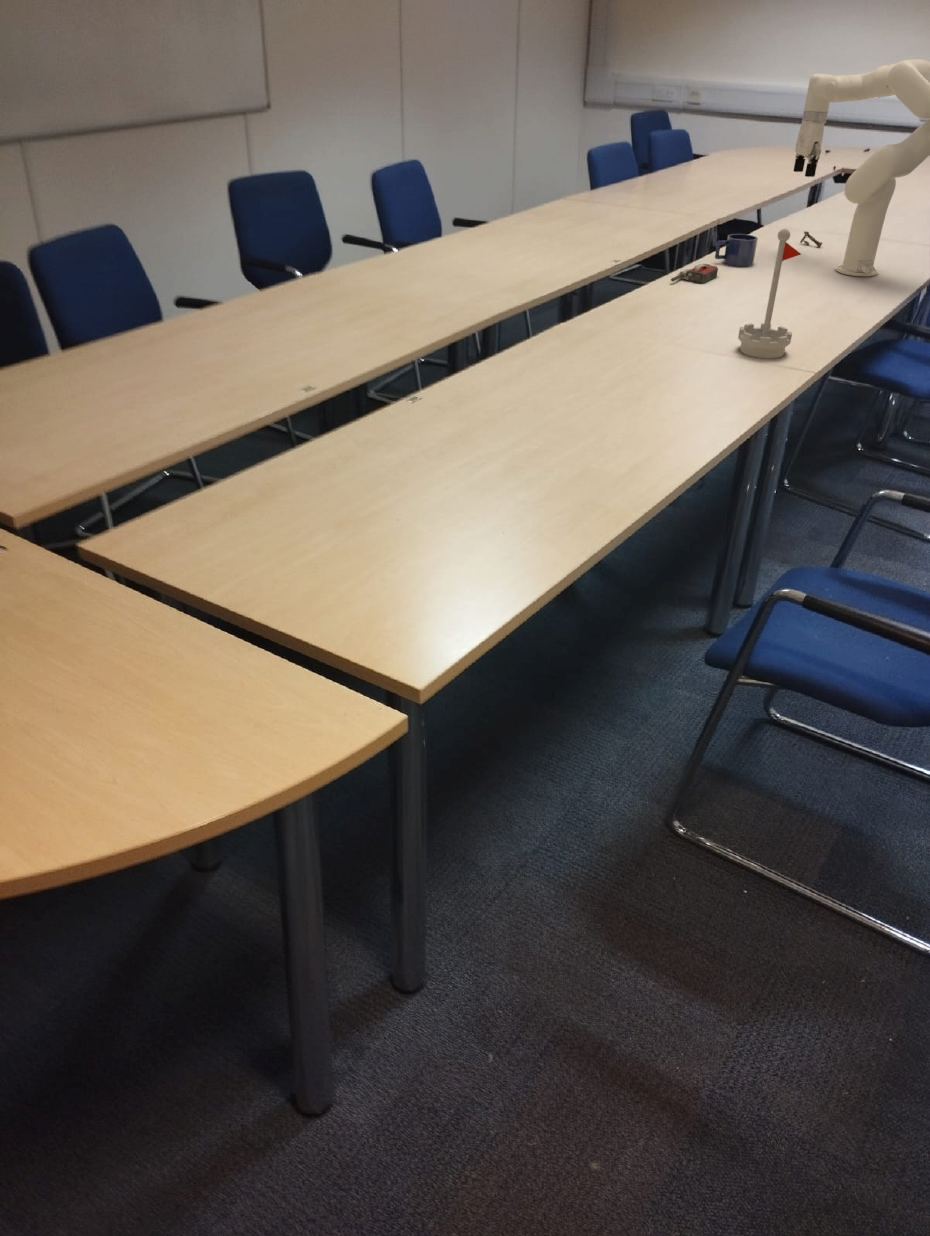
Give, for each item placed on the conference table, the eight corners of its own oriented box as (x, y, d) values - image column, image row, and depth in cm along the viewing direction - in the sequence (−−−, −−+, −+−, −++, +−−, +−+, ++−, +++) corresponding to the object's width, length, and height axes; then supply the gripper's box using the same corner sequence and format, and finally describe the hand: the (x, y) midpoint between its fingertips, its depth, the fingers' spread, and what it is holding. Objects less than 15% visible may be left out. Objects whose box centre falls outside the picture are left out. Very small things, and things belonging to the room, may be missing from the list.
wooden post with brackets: (799, 240, 358) (806, 229, 354) (816, 253, 355) (823, 242, 352) (797, 240, 357) (804, 229, 353) (813, 253, 354) (820, 242, 351)
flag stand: (727, 352, 250) (748, 229, 234) (748, 340, 259) (770, 220, 243) (775, 363, 244) (800, 237, 227) (796, 350, 252) (821, 228, 236)
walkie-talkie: (694, 271, 320) (667, 284, 306) (696, 257, 317) (669, 269, 303) (719, 276, 315) (693, 288, 302) (721, 261, 313) (695, 274, 299)
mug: (747, 259, 335) (751, 233, 330) (757, 266, 327) (762, 240, 322) (709, 260, 334) (713, 233, 329) (718, 267, 325) (722, 240, 321)
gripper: (793, 113, 325) (783, 169, 334) (814, 120, 310) (803, 178, 320) (814, 114, 325) (804, 169, 335) (836, 120, 311) (825, 178, 320)
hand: (803, 173), depth 327 cm, fingers open, 9 cm apart
